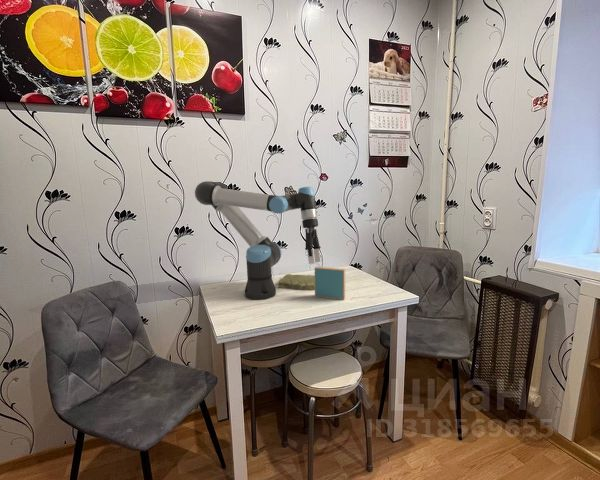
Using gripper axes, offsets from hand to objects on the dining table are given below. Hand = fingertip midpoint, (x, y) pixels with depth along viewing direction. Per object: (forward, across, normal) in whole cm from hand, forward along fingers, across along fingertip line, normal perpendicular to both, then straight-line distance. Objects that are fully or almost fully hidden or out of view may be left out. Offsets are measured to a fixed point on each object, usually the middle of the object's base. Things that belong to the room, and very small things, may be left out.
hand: (315, 262), depth 157 cm
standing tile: (+17, -3, -6) cm, 18 cm away
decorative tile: (+12, +14, +13) cm, 22 cm away
